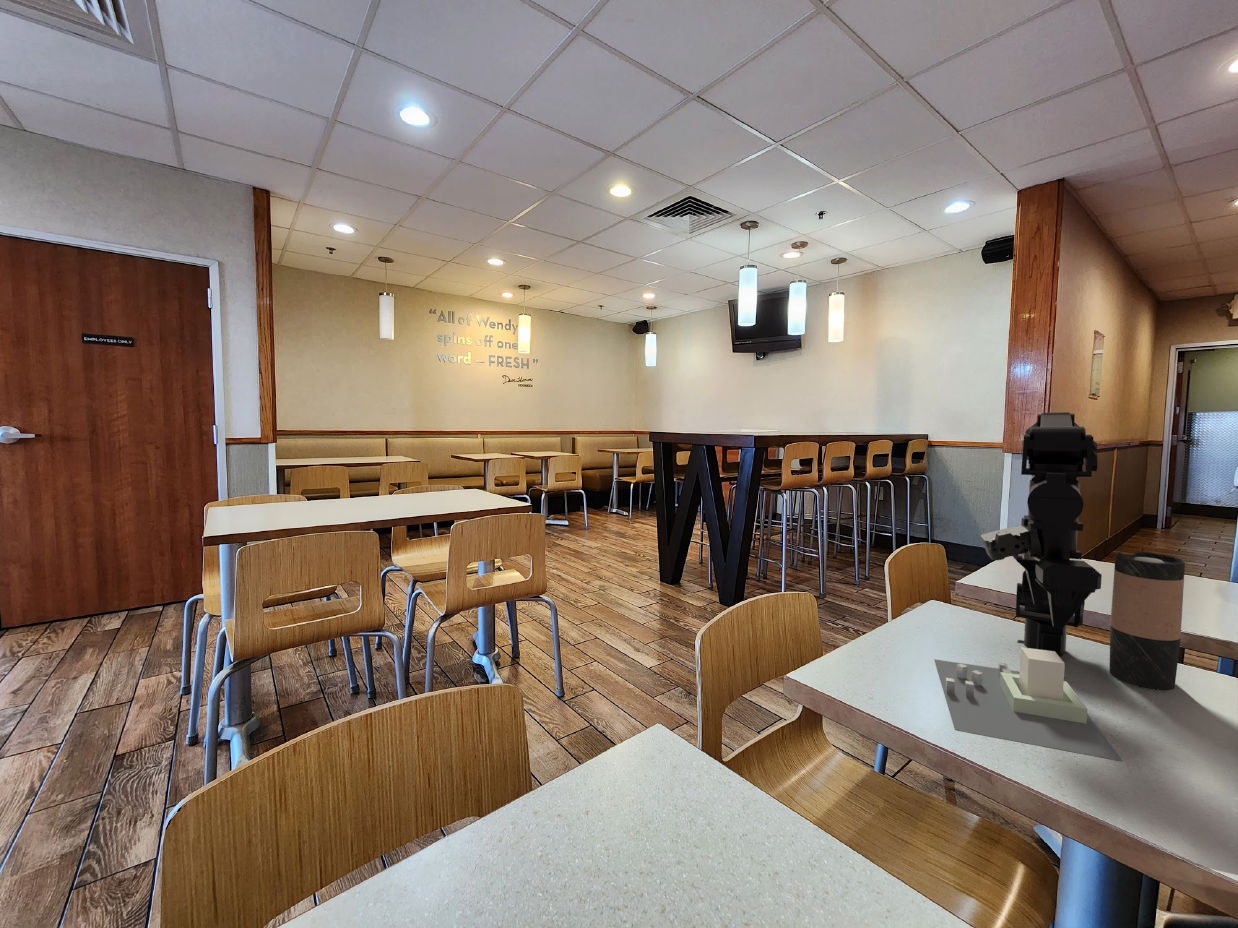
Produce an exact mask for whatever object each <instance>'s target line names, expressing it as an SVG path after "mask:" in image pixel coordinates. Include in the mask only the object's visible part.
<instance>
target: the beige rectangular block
mask: <svg viewBox="0 0 1238 928" xmlns="http://www.w3.org/2000/svg"><path fill="white" fill-rule="evenodd" d="M1019 654H1020V655H1019V672H1020V675H1019V690H1020V692H1021V694H1022V695H1026V696H1032V697H1038V698H1045V699H1051V700H1057V701H1063V686H1064V681H1065V678H1064V677H1065V663H1066V662H1064V661H1063V659H1062V657H1061V658H1060V657H1059V656H1058V655H1057V654H1056V652H1055V651H1047V650H1039V649H1031V648H1027V647H1022V646H1020V653H1019Z"/></svg>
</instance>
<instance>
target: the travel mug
mask: <svg viewBox="0 0 1238 928" xmlns="http://www.w3.org/2000/svg"><path fill="white" fill-rule="evenodd" d="M1185 568H1186V563H1185V560H1183V559H1181V558H1179V557H1177V556H1176V557H1175V556H1172V555H1167V554H1162V553H1156V552H1155V553H1153V552H1147V551H1137V552H1134V553H1133V554H1123V553H1121V552H1120V551H1117V552H1116V553H1115V558H1114V570H1113V582H1112V583H1113V584H1112V599H1111V610H1110V611H1111V612H1110V626H1109V627H1110V628H1109V629H1110V630H1109V674H1110V675H1111V677H1113V678H1115V679H1116V680H1118V681H1120V682H1122V683H1125V684H1127V685H1130V686H1134V687H1138V688H1142V689H1146V690H1151V691H1152V690H1153V691H1161V692H1163V691H1165V692H1166V691H1172V690H1174V689H1175V688H1176V687H1175V686H1176V679H1177V672H1178V671H1177V670H1178V663H1179V654H1180V646H1181V636H1182V621H1183V620H1182V619H1183V606H1184V605H1183V603H1184V602H1183V601H1184V584H1185Z"/></svg>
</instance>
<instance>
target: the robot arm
mask: <svg viewBox="0 0 1238 928" xmlns="http://www.w3.org/2000/svg"><path fill="white" fill-rule="evenodd" d="M1036 417H1037V418H1036V419H1037V420H1036V422H1035V423H1034V424H1033V425H1031V426H1030V427H1029V428H1028V429H1026V430H1025V432H1024V434H1023V442H1022V454H1021V455H1022V456H1021V457H1022V458H1021V473H1020V474H1021V476H1032V477H1031V479H1029V486H1028V487H1029V491H1028V496H1027V502H1026V503H1027V507H1028V509H1027V515H1024V516H1023V517H1021V525H1018V526H1014V527H1007V528H1002V529H998V530H994V531H990V532H986V533H983V534H981V535H980V539H981V541H982V544H983V547H984V550H985V552H986V554H987V556H989V558H990V559H991V560H992V561H1002V560H1004V559H1006V558H1010V557H1012V558H1013V559H1014V560H1015V561H1016V562H1017V563H1018V564H1019V565H1020V566H1022V568H1023V569H1024V571H1023V572H1022V580H1021V582H1017V583H1016V599H1015V618H1022V619H1024V634H1023V635H1024V638H1023V640H1022V639H1018V640H1017V644H1023V645H1024V646H1025V648H1031V649H1039V650H1047V651H1055V652H1056V654H1057V655H1058V656H1059V657H1060V658H1061V659H1062V656H1063V655H1065V654H1066V649H1067V629H1068V627H1073V628H1078V627H1079V626H1083V624H1084V612H1085V603H1086V600H1087V599H1088V597H1089V596H1090V595H1091V594H1095V593H1096V591H1097V590H1101V589H1102V573H1100V572H1099V571H1098V570H1097V569H1095V568H1094V567H1093V566H1092V565H1090V564H1089V563H1088V562H1086V561H1084V560H1082V554H1083V553H1082V552H1081V551H1080V550H1078V549H1077V548H1078V547H1077V546H1078V531H1079V532H1083V531H1084V523H1083V522H1081V521H1079V517H1080V515H1081V513H1082V512H1083V510H1084V499H1083V497H1082V495H1081V494H1082V493H1081V482H1080V481H1079V479H1078V478H1092V475H1093V474H1092V473H1093V472H1098V442H1096V441H1095V439H1094V436H1093V435H1092V434H1086V433H1087V432H1086V431H1087V429H1086V427H1085V426H1079V425H1078V424H1077V423H1076V422H1075V413H1071V412H1070V411H1069V412H1068V411H1067V412H1065V411H1064V412H1063V411H1062V412H1061V411H1060V412H1059V411H1058V412H1041V414H1040V413H1038V414H1037V416H1036ZM1027 463H1028V466H1027ZM1084 464H1085V465H1084ZM1084 466H1085V469H1083V467H1084Z"/></svg>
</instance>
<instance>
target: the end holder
mask: <svg viewBox="0 0 1238 928" xmlns="http://www.w3.org/2000/svg"><path fill="white" fill-rule="evenodd" d="M1000 686H1001V688H1002V690H1003V692H1004V694H1005V696H1006V698H1007V700H1008V702H1009V704H1010V706H1011V708H1012V710H1013V711H1015V712H1021V713H1027V714H1032V715H1038V716H1044V717H1050V718H1056V719H1062V720H1068V721H1074V722H1080V723H1086V724H1087V713H1088V708H1087V706H1086V705H1085V704H1084V703H1083V701H1082V700H1081V699H1080V697H1079V696H1078V695H1077V693H1076V692H1075V691H1074V690H1073V689H1074V688H1072V687H1071V686H1070V684H1069V683H1068V682H1067V681H1065V680H1064V686H1063V701H1057V700H1051V699H1045V698H1038V697H1032V696H1026V695H1022V694H1021V692H1020V690H1019V675H1018V674H1011V673H1005V672H1000Z"/></svg>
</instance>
